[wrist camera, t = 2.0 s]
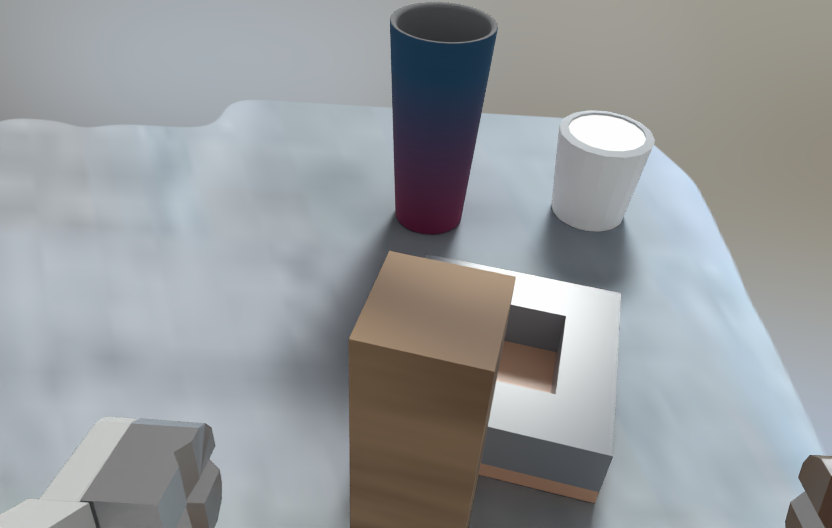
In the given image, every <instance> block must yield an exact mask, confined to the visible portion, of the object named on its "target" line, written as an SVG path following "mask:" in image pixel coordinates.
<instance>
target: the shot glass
mask: <svg viewBox="0 0 832 528" xmlns="http://www.w3.org/2000/svg"><path fill="white" fill-rule="evenodd" d="M654 142H655V139H654V137H653V135H652V132H651V131H650V130H649V129H648V128H646V127H645V126H644V125H642V123H640V122H638V121H636V120H634V119H631V118H629V117H627V116H624V115H620V114H616V113H612V112H608V111H594V110H589V111H582V112H575V113H573V114H571V115H569V116H567V117H565V118H564V119H563V121H562V122H561V124H560V126H559V135H558V145H557V155H556V165H555V175H554V185H553V194H552V209H553V212H554V213H555V215H556V216H557V217H558V218H559V219H560V220H561V221H563V222H565V223H566V224H568V225H570V226H571V227H575V228H578V229H581V230H585V231H598V232H601V231H606V230H611V229H613V228H615V227H616V226H618V225H619V224H621V222H622V219H623V217H624V214H625V212H626V210H627V207H628V205H629V202H630V200H631V198H632V195H633V193H634V190H635V188H636V186H637V183H638V181H639V178H640V176H641V174H642V171H643V169H644V166H645V164H646V162H647V159H648V157H649V154H650V152H651V150H652V147H653V145H654Z"/></svg>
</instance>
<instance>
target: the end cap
mask: <svg viewBox="0 0 832 528" xmlns="http://www.w3.org/2000/svg"><path fill="white" fill-rule="evenodd" d="M424 258H427V259H432V260H437V261H442V262H447V263H452V264H456V265H461V266H466V267H471V268H476V269H481V270H486V271H491V272H496V273H501V274H506V275H511V276H516V280H515V285H514V291H513V296H512V301H511V306H510V312H509V317H508V322H507V327H506V333H505V338H504V343H503V349H502V354H501V359H500V364H499V370H498V375H497V380H496V386H495V391H494V396H493V401H492V407H491V412H490V417H489V422H488V428H487V433H486V438H485V444H484V449H483V454H482V459H481V465H480V470H479V475H482V476H486V477H490V478H494V479H498V480H502V481H506V482H510V483H515V484H519V485H523V486H527V487H531V488H535V489H539V490H543V491H547V492H551V493H555V494H559V495H563V496H567V497H571V498H575V499H579V500H583V501H587V502H591V503H595V502H596V499H597V496H598V494H599V491H600V489H601V486H602V483H603V481H604V478H605V476H606V473H607V470H608V468H609V465H610V463H611V460H612V457H613V445H614V424H615V403H616V383H617V362H618V341H619V321H620V300H621V293H617V292H612V291H607V290H603V289H598V288H593V287H588V286H583V285H578V284H573V283H568V282H563V281H558V280H553V279H548V278H543V277H538V276H533V275H528V274H523V273H518V272H513V271H508V270H503V269H499V268H494V267H489V266H484V265H479V264H474V263H469V262H464V261H459V260H454V259H449V258H444V257H439V256H434V255H429V254H426V255H425V257H424Z"/></svg>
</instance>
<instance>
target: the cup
mask: <svg viewBox="0 0 832 528" xmlns="http://www.w3.org/2000/svg"><path fill="white" fill-rule="evenodd" d="M497 29H498V26H497V22H496V21H495V19H494V18H493V17H491V16H490V15H488V14H487V13H485V12H483V11H481V10H478V9H476V8H472V7H469V6H465V5H460V4H454V3H444V2H426V3H417V4H411V5H408V6H405V7H402V8H400V9H398V10H396V11H395V12H394V13H393V14H392V15H391V18H390V34H391V35H390V36H391V69H392V70H391V71H392V105H393V140H394V174H395V208H396V217H397V219H398V221H399V222H400V223H401V224H402V225H403V226H404V227H406V228H407V229H409V230H412V231H414V232H417V233H422V234H440V233H445V232H447V231H450V230H452V229H454V228H455V227H456V226H457V225H458V224H459V222H460V220H461V216H462V211H463V206H464V201H465V195H466V190H467V185H468V180H469V175H470V170H471V164H472V159H473V154H474V149H475V144H476V138H477V133H478V128H479V123H480V118H481V112H482V107H483V102H484V97H485V92H486V86H487V81H488V76H489V71H490V66H491V60H492V55H493V50H494V44H495V40H496V34H497Z"/></svg>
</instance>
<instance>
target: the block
mask: <svg viewBox="0 0 832 528" xmlns="http://www.w3.org/2000/svg"><path fill="white" fill-rule="evenodd" d="M515 280H516V276H511V275H506V274H501V273H496V272H491V271H486V270H481V269H476V268H471V267H466V266H461V265H456V264H452V263H447V262H442V261H437V260H432V259H427V258H422V257H417V256H412V255H407V254H402V253H397V252H392V251H389V253H388V255H387V257H386V259H385V261H384V264H383V266H382V268H381V270H380V272H379V274H378V277H377V279H376V281H375V283H374V285H373V287H372V290H371V292H370V294H369V296H368V298H367V300H366V303H365V305H364V307H363V309H362V311H361V314H360V316H359V318H358V320H357V322H356V324H355V327H354V329H353V331H352V333H351V335H350V337H349V437H350V528H469V523H470V517H471V512H472V507H473V502H474V496H475V491H476V486H477V481H478V475H479V470H480V465H481V459H482V454H483V449H484V444H485V438H486V433H487V428H488V422H489V417H490V412H491V407H492V401H493V396H494V391H495V386H496V380H497V375H498V370H499V364H500V359H501V354H502V349H503V343H504V338H505V333H506V327H507V322H508V317H509V312H510V306H511V301H512V296H513V291H514V285H515Z"/></svg>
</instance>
